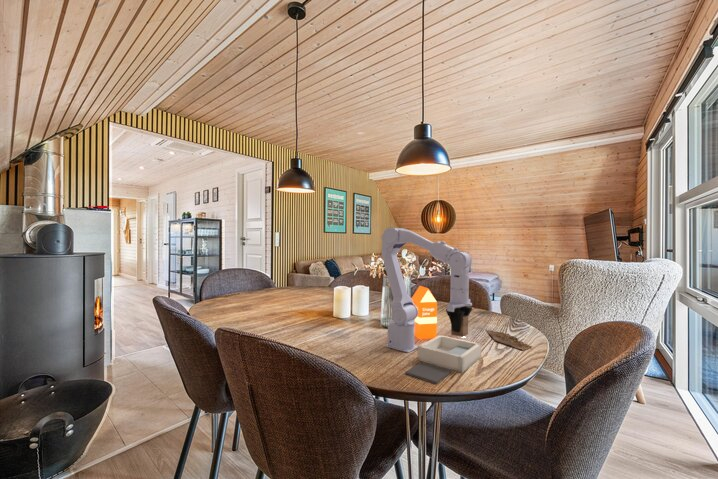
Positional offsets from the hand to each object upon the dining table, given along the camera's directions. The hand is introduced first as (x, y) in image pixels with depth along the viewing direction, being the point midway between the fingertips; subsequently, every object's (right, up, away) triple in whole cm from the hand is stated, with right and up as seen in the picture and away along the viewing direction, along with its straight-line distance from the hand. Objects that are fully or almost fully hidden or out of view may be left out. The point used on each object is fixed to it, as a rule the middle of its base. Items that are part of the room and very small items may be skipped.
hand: (458, 329), depth 104 cm
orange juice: (-6, -10, +27) cm, 30 cm away
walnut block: (0, -1, 0) cm, 1 cm away
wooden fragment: (+26, -11, +23) cm, 36 cm away
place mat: (-12, -10, -10) cm, 18 cm away
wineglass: (+10, -10, +27) cm, 31 cm away
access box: (-2, -10, +2) cm, 11 cm away
